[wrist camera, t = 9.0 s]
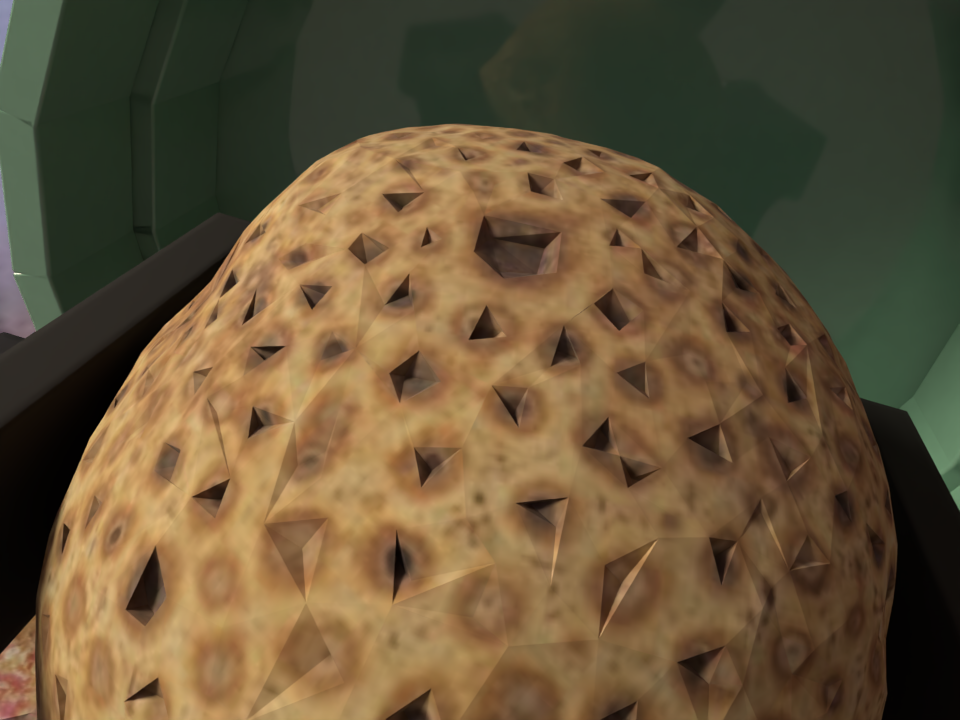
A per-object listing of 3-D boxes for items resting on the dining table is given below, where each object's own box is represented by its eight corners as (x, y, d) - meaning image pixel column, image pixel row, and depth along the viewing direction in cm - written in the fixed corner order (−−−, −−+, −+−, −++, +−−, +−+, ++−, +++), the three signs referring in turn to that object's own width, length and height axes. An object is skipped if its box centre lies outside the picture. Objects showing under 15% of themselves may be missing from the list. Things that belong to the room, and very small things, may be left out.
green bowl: (187, -434, 13) (-101, -657, 8) (1330, -162, 12) (1815, -226, 7) (178, 435, 24) (46, 576, 18) (802, 627, 22) (846, 834, 17)
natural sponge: (265, 43, 12) (-745, 348, 3) (876, 81, 10) (1888, 772, 2) (311, 499, 16) (-61, 1127, 8) (742, 567, 15) (864, 1416, 6)
